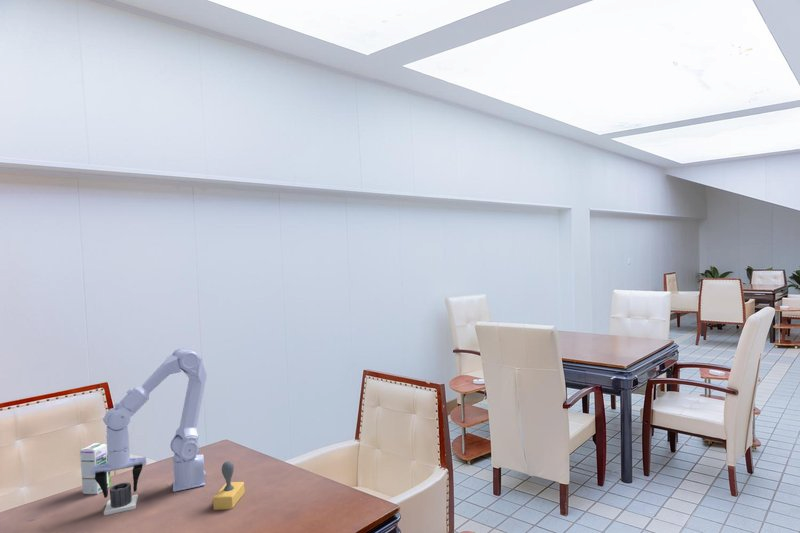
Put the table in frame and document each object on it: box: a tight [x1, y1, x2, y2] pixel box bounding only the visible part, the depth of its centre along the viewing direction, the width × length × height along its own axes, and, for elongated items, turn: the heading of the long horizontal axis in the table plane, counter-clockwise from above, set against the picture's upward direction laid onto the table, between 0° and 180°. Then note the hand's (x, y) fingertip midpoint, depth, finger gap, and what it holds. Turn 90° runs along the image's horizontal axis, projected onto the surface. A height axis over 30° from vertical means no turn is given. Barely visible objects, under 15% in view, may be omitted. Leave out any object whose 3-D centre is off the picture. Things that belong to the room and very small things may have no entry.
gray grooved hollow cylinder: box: [109, 482, 132, 508], centre depth 147 cm, size 5×5×5 cm
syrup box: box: [79, 442, 112, 495], centre depth 159 cm, size 6×6×14 cm
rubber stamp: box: [212, 460, 246, 511], centre depth 147 cm, size 10×6×12 cm, turn 177°
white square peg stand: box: [103, 488, 139, 516], centre depth 147 cm, size 8×8×5 cm
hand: (120, 493), depth 147 cm, fingers open, 7 cm apart
